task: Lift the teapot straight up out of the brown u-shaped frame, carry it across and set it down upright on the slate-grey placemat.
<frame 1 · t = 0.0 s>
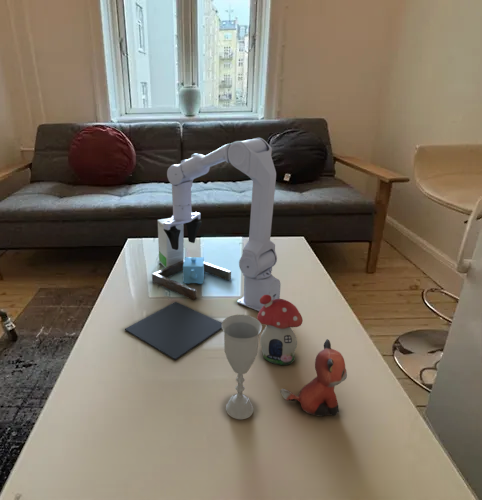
hand: (183, 245, 122), 10 cm above the table, tool pointing down, fingers open, 7 cm apart
stuffed fox: (310, 403, 73), on the table
chalice: (239, 409, 72), on the table
decorative ornament: (277, 356, 86), on the table
brown u-shaped frame: (193, 281, 121), on the table
teapot: (193, 282, 121), on the table
placemat: (175, 328, 97), on the table
cosmetic box: (172, 264, 134), on the table
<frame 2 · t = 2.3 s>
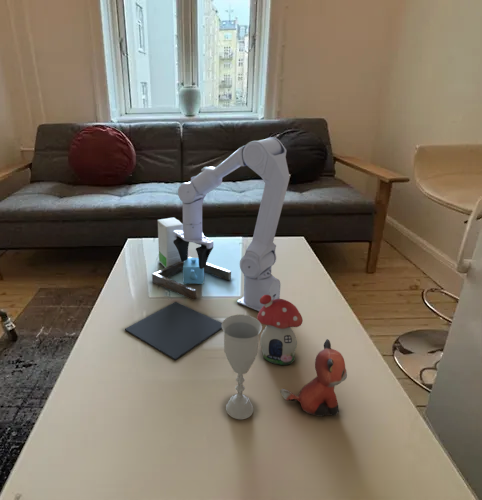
hand: (193, 264, 119), 6 cm above the table, tool pointing down, fingers closed on teapot, 7 cm apart
teapot: (193, 282, 121), on the table, touching gripper
everything else where it was.
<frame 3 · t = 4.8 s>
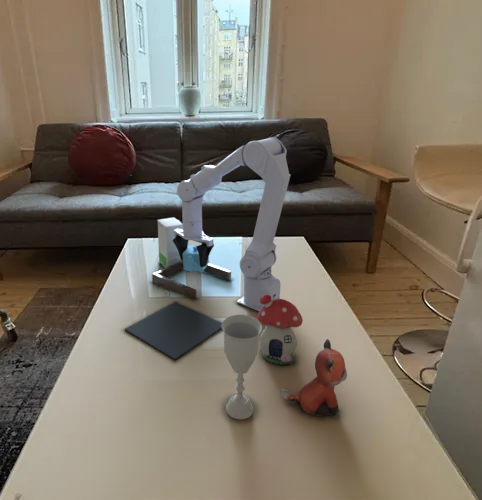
hand: (193, 262, 118), 7 cm above the table, tool pointing down, fingers closed on teapot, 7 cm apart
teapot: (195, 270, 119), point 4 cm above the table, touching gripper
everything else where it was.
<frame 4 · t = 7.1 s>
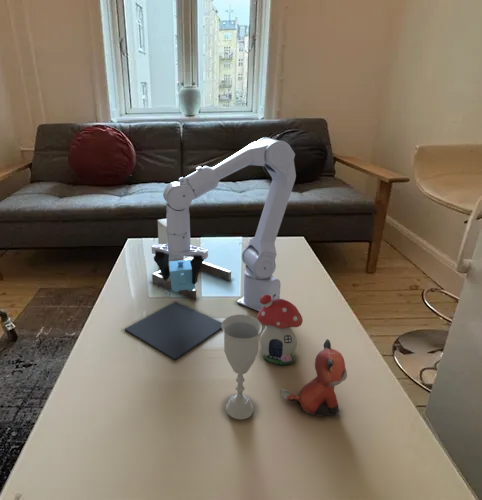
hand: (180, 280, 101), 9 cm above the table, tool pointing down, fingers closed on teapot, 7 cm apart
teapot: (183, 289, 102), point 6 cm above the table, touching gripper
everything else where it was.
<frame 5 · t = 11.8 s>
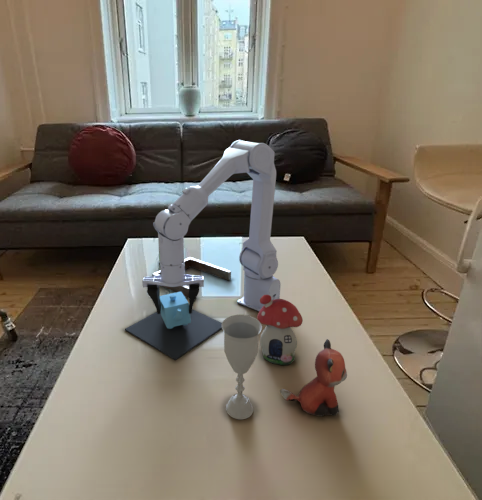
hand: (174, 311, 95), 5 cm above the table, tool pointing down, fingers closed on teapot, 7 cm apart
teapot: (177, 324, 97), point 1 cm above the table, touching gripper, placemat
everything else where it was.
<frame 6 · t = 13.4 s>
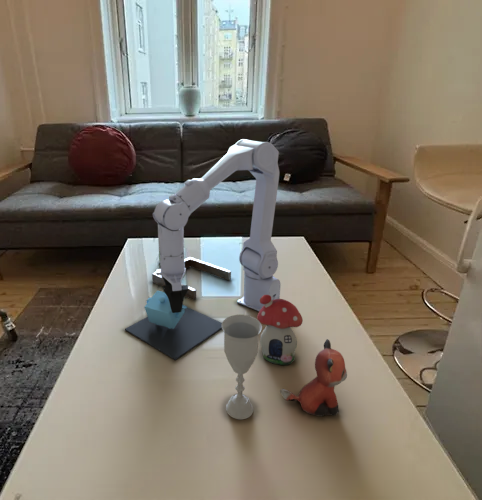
hand: (174, 303, 94), 7 cm above the table, tool pointing down, fingers closed on teapot, 7 cm apart
teapot: (171, 320, 98), point 1 cm above the table, touching gripper
everything else where it was.
when the fingers open (8 cm above the table, at t = 13.8 s): teapot drops 1 cm, resting on placemat.
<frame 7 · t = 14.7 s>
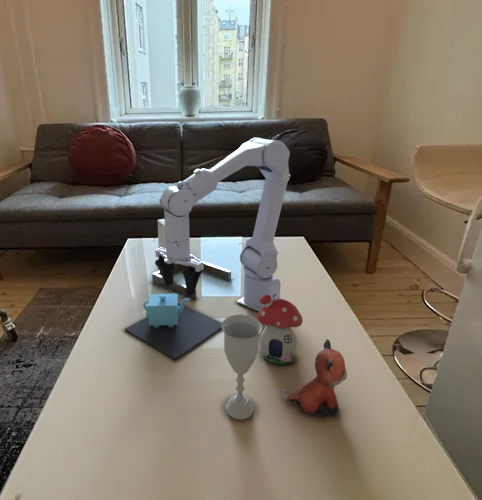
hand: (179, 289, 96), 9 cm above the table, tool pointing down, fingers open, 7 cm apart
teapot: (168, 322, 99), resting on placemat
everything else where it was.
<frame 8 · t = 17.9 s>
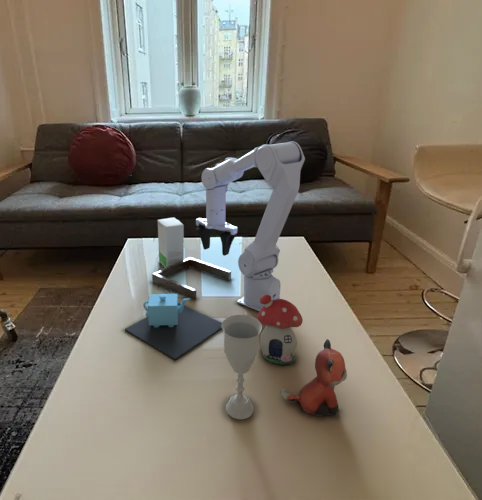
hand: (215, 251, 119), 9 cm above the table, tool pointing down, fingers open, 7 cm apart
nothing on the table moved.
at the end: teapot inside the target area on the placemat (3.1 cm from its centre), point 0.2 cm above the placemat's base; teapot tilted 0°; teapot touching placemat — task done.
